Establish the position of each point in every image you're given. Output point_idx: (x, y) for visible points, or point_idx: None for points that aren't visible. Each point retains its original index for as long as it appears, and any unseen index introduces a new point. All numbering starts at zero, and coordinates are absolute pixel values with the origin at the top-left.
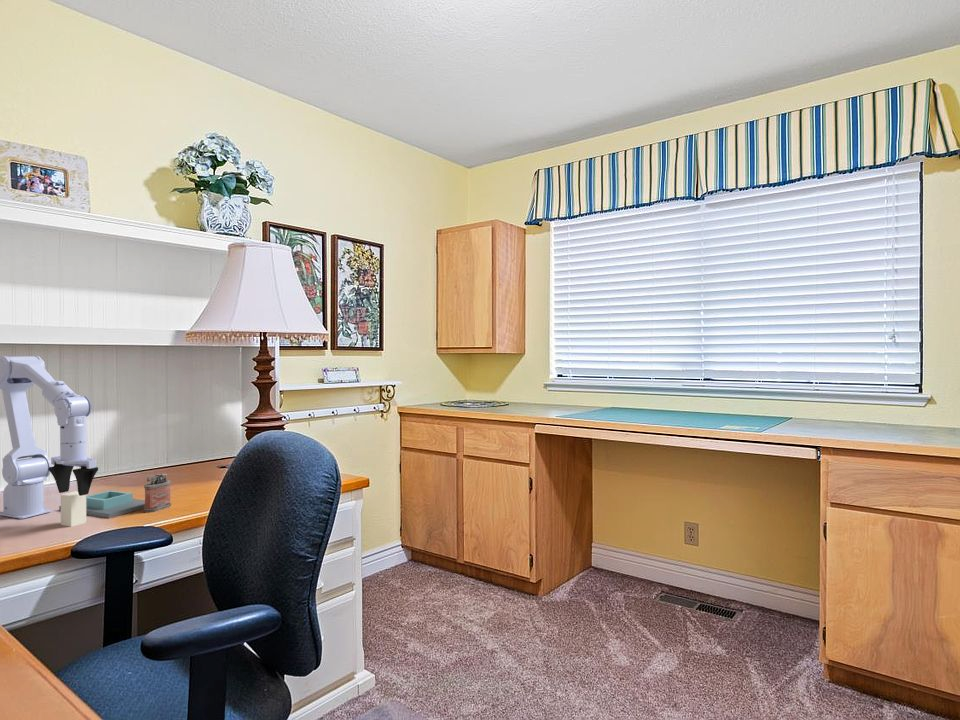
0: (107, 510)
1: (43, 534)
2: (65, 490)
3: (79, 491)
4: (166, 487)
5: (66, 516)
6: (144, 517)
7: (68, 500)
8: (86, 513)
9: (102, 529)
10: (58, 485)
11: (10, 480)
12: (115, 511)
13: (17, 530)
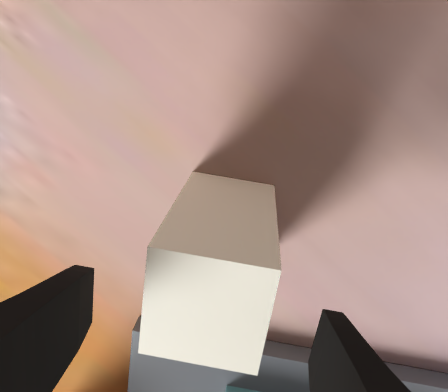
0: (192, 373)
1: (211, 14)
2: (315, 350)
3: (56, 276)
4: None
5: (224, 193)
6: None
7: (190, 235)
8: (295, 349)
9: (4, 167)
10: (349, 347)
11: None
12: (140, 366)
13: (433, 38)
